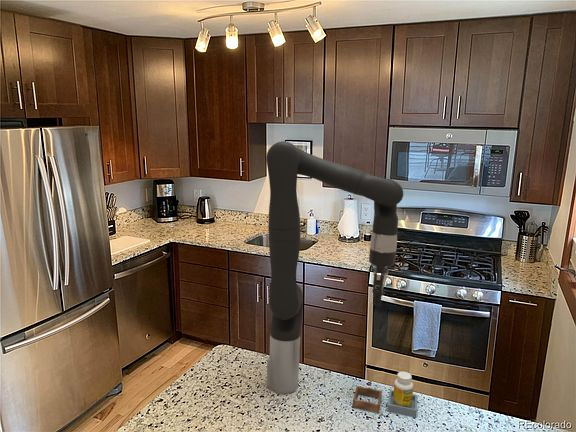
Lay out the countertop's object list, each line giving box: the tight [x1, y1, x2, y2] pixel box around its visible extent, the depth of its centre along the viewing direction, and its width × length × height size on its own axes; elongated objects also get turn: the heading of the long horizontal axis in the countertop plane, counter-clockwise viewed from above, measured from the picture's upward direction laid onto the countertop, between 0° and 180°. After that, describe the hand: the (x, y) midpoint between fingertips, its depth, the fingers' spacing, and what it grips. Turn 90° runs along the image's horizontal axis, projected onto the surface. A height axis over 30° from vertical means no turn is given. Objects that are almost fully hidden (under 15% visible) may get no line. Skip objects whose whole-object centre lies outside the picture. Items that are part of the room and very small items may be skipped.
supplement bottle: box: [393, 371, 414, 408], centre depth 127 cm, size 5×5×10 cm
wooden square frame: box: [351, 385, 383, 414], centre depth 129 cm, size 8×8×2 cm
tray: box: [386, 389, 418, 418], centre depth 128 cm, size 8×8×2 cm
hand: (378, 300), depth 131 cm, fingers open, 8 cm apart
